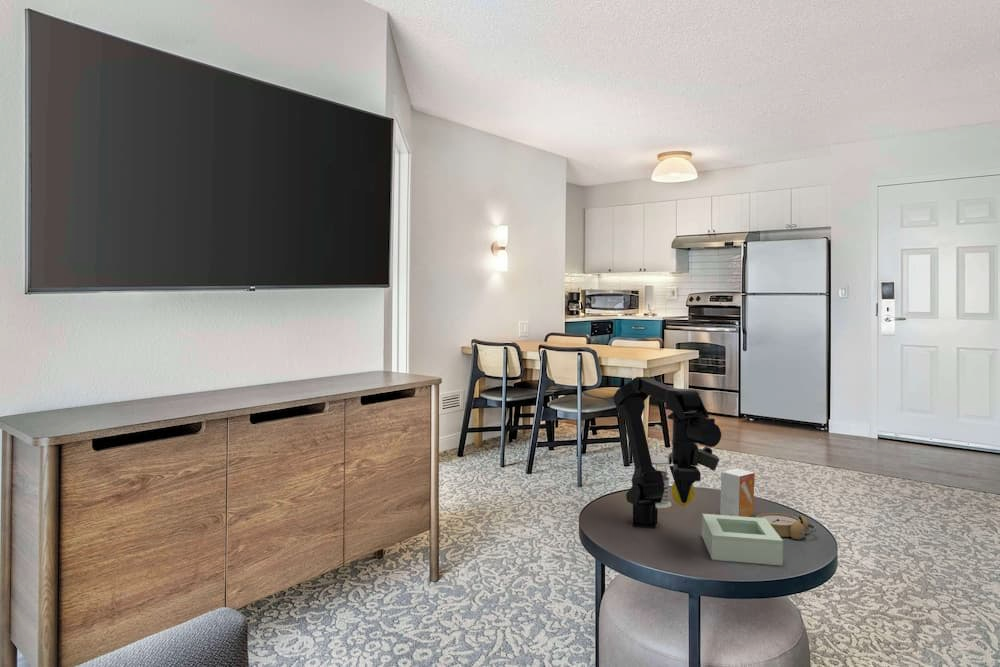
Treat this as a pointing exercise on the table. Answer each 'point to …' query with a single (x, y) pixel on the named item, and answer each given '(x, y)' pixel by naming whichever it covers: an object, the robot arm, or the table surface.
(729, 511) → the small box
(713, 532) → the pale green square tray
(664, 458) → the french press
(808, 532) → the alarm clock
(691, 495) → the lemon
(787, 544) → the table surface
